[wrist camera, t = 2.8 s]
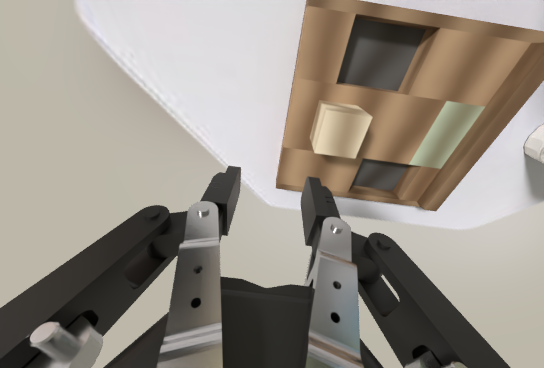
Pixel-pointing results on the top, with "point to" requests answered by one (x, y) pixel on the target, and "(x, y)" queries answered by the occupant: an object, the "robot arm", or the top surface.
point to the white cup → (536, 144)
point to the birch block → (339, 129)
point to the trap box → (405, 97)
